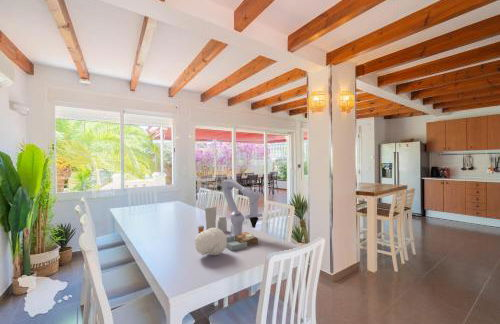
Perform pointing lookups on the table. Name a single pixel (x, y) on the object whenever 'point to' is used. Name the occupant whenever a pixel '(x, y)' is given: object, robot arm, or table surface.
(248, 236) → the tile
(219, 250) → the cauliflower
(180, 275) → the table surface
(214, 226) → the toiletry set
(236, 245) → the tray
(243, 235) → the tile
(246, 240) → the board
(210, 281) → the table surface
